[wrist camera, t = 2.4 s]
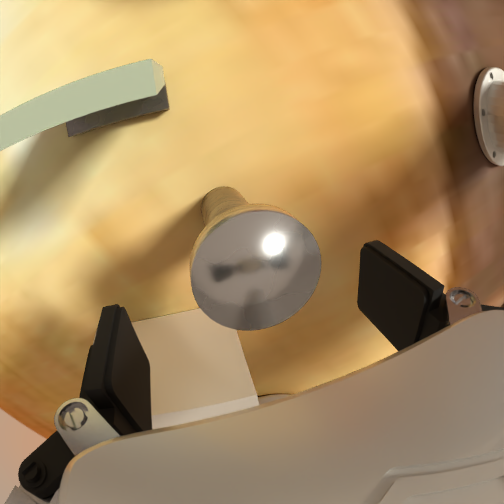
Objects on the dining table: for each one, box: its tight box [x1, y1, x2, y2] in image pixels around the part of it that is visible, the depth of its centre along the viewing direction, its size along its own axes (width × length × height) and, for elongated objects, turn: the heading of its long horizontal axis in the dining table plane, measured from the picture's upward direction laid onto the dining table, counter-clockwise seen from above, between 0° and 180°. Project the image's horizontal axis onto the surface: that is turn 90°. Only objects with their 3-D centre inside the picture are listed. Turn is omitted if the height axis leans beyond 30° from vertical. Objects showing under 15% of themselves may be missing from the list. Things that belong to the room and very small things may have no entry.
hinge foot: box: [66, 83, 169, 137], centre depth 16 cm, size 7×2×1 cm, turn 98°
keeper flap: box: [0, 59, 165, 151], centre depth 11 cm, size 7×1×10 cm, turn 98°
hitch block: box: [93, 308, 259, 429], centre depth 22 cm, size 12×12×10 cm
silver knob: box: [190, 187, 321, 330], centre depth 17 cm, size 6×6×10 cm
